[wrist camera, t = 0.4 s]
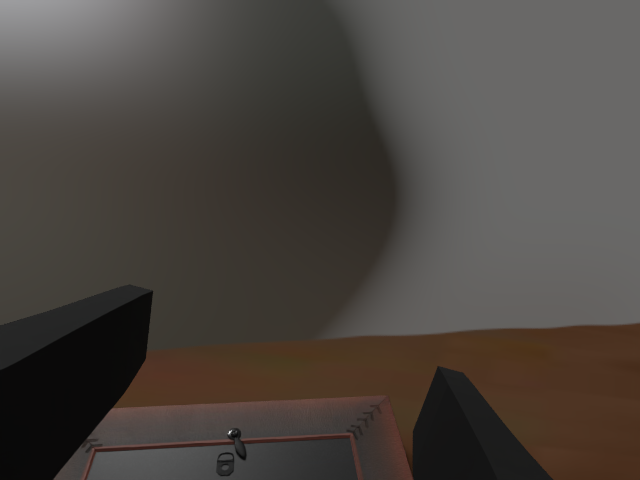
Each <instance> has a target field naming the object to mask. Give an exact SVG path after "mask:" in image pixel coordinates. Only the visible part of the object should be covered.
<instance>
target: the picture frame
mask: <svg viewBox="0 0 640 480" xmlns="http://www.w3.org/2000/svg"><path fill="white" fill-rule="evenodd" d="M53 480H413V477H412V473H411V470H410V467H409V463H408V460H407V457H406V453H405V450H404V447H403V443H402V440H401V437H400V434H399V430H398V427H397V424H396V420H395V417H394V414H393V410H392V407H391V404H390V400H389V397H388V396H367V397H345V398H324V399H303V400H281V401H260V402H239V403H217V404H196V405H175V406H153V407H132V408H112V409H111V410H110V411H109V413H108V414H107V415H106V416H105V417H104V419H103V420H102V421H101V422H100V423H99V425H98V426H97V427H96V428H95V429H94V431H93V432H92V433H91V434H90V435H89V437H88V438H87V439H86V440H85V441H84V443H83V444H82V445H81V446H80V447H79V449H78V450H77V451H76V452H75V453H74V455H73V456H72V457H71V458H70V459H69V461H68V462H67V463H66V464H65V465H64V467H63V468H62V469H61V470H60V472H59V473H58V474H57V475H56V477H55V478H54V479H53Z"/></svg>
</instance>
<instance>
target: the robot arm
mask: <svg viewBox="0 0 640 480" xmlns="http://www.w3.org/2000/svg"><path fill="white" fill-rule="evenodd" d="M152 295H153V291H152V290H148V289H144V288H141V287H136V286H133V285H126V286H122V287H119V288H116V289H112V290H109V291H106V292H103V293H101V294H97V295H94V296H92V297H89V298H86V299H83V300H80V301H77V302H74V303H71V304H68V305H65V306H62V307H59V308H56V309H53V310H50V311H47V312H44V313H41V314H37V315H34V316H30V317H27V318H24V319H20V320H17V321H14V322H10V323H7V324H4V325H0V480H53V479H54V478H55V477H56V475H57V474H58V473H59V472H60V470H61V469H62V468H63V467H64V465H65V464H66V463H67V462H68V461H69V459H70V458H71V457H72V456H73V455H74V453H75V452H76V451H77V450H78V449H79V447H80V446H81V445H82V444H83V443H84V441H85V440H86V439H87V438H88V437H89V435H90V434H91V433H92V432H93V431H94V429H95V428H96V427H97V426H98V425H99V423H100V422H101V421H102V420H103V419H104V417H105V416H106V415H107V414H108V413H109V411H110V410H111V409H112V408H113V406H114V405H115V404H116V403H117V402H118V400H119V399H120V398H121V397H122V395H123V394H124V393H125V391H126V390H127V388H128V387H129V385H130V384H131V382H132V380H133V379H134V377H135V376H136V374H137V372H138V371H139V369H140V368H141V366H142V364H143V363H144V361H145V359H146V351H147V342H148V333H149V323H150V314H151V305H152ZM413 478H414V480H553V479H552V478H551V477H550V476H549V475H548V474H547V472H546V471H545V470H544V469H543V468H542V467H541V466H540V465H539V464H538V463H537V461H536V460H535V459H534V458H533V457H532V456H531V455H530V454H529V453H528V451H527V450H526V449H525V448H524V447H523V446H522V444H521V443H520V442H519V441H518V440H517V439H516V437H515V436H514V435H513V434H512V433H511V431H510V430H509V429H508V428H507V427H506V425H505V424H504V423H503V422H502V420H501V419H500V418H499V417H498V415H497V414H496V413H495V412H494V410H493V409H492V408H491V407H490V405H489V404H488V403H487V401H486V400H485V399H484V398H483V396H482V395H481V394H480V393H479V391H478V390H477V389H476V388H475V386H474V385H473V384H472V383H471V381H470V380H469V379H468V378H467V377H466V376H465V375H464V373H462V372H458V371H454V370H450V369H447V368H443V367H439V366H438V368H437V370H436V373H435V376H434V378H433V381H432V383H431V386H430V388H429V391H428V394H427V396H426V399H425V401H424V404H423V407H422V409H421V412H420V414H419V417H418V420H417V422H416V425H415V427H414V430H413Z"/></svg>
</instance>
